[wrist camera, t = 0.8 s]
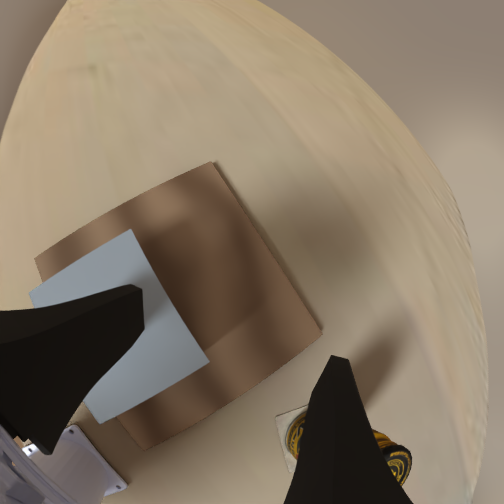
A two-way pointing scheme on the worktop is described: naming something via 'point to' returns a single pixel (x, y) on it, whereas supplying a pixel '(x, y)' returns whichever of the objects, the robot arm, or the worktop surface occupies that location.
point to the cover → (150, 341)
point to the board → (202, 294)
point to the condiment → (393, 453)
